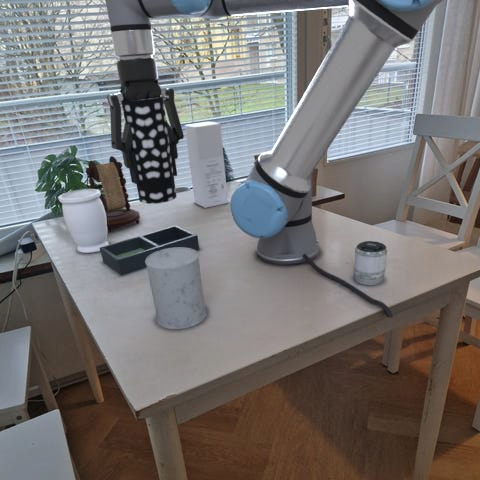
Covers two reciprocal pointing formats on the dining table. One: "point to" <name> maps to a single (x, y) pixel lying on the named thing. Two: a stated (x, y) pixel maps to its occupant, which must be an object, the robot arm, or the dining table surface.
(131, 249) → the divided tray
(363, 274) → the camera lens
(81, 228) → the jar
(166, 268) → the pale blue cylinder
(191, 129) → the tall white carton
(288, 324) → the dining table surface
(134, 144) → the white-spotted black cylinder
